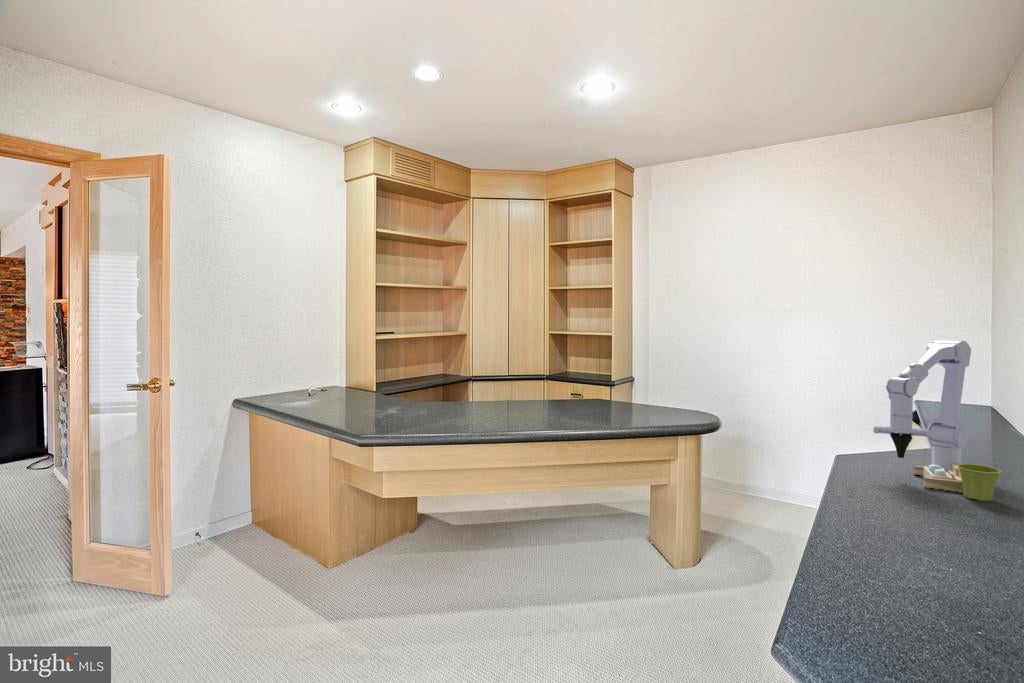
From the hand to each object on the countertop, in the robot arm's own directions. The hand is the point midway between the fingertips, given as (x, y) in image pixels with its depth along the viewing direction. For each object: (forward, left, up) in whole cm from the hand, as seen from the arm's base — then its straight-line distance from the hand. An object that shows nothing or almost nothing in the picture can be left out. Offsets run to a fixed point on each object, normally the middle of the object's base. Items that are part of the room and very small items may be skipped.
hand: (900, 457), depth 172 cm
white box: (0, +9, -7) cm, 12 cm away
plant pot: (+13, +16, -7) cm, 22 cm away
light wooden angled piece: (0, +11, -7) cm, 13 cm away
